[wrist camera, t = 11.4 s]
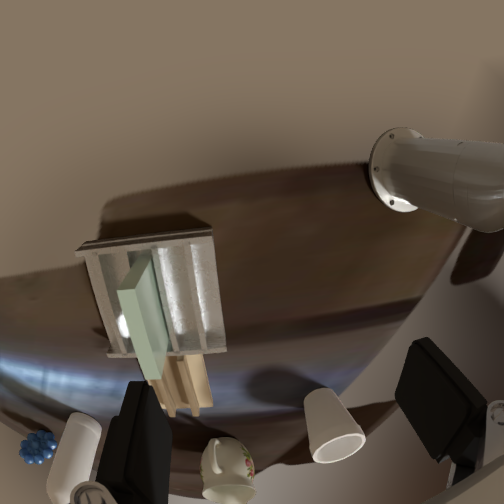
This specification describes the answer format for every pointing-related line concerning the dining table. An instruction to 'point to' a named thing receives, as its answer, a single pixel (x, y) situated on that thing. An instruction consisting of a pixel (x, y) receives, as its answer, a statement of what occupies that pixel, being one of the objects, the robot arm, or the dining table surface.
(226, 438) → the pitcher
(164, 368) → the stand
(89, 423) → the bottle
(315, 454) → the foam cup
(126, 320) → the sage green plank
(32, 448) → the grapes
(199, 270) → the rack
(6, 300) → the dining table surface
